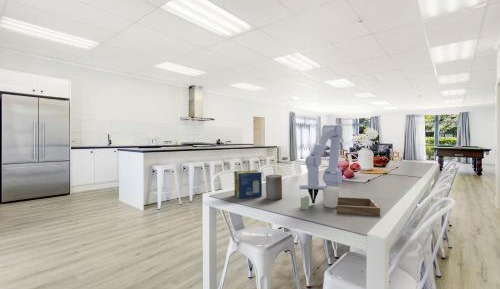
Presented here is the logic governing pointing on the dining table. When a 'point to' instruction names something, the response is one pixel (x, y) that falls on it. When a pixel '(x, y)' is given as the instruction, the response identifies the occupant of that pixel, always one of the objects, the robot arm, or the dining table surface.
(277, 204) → the dining table surface
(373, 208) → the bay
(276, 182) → the pillar candle
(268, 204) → the dining table surface
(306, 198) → the block
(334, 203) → the white cup
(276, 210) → the dining table surface
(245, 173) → the protein box
